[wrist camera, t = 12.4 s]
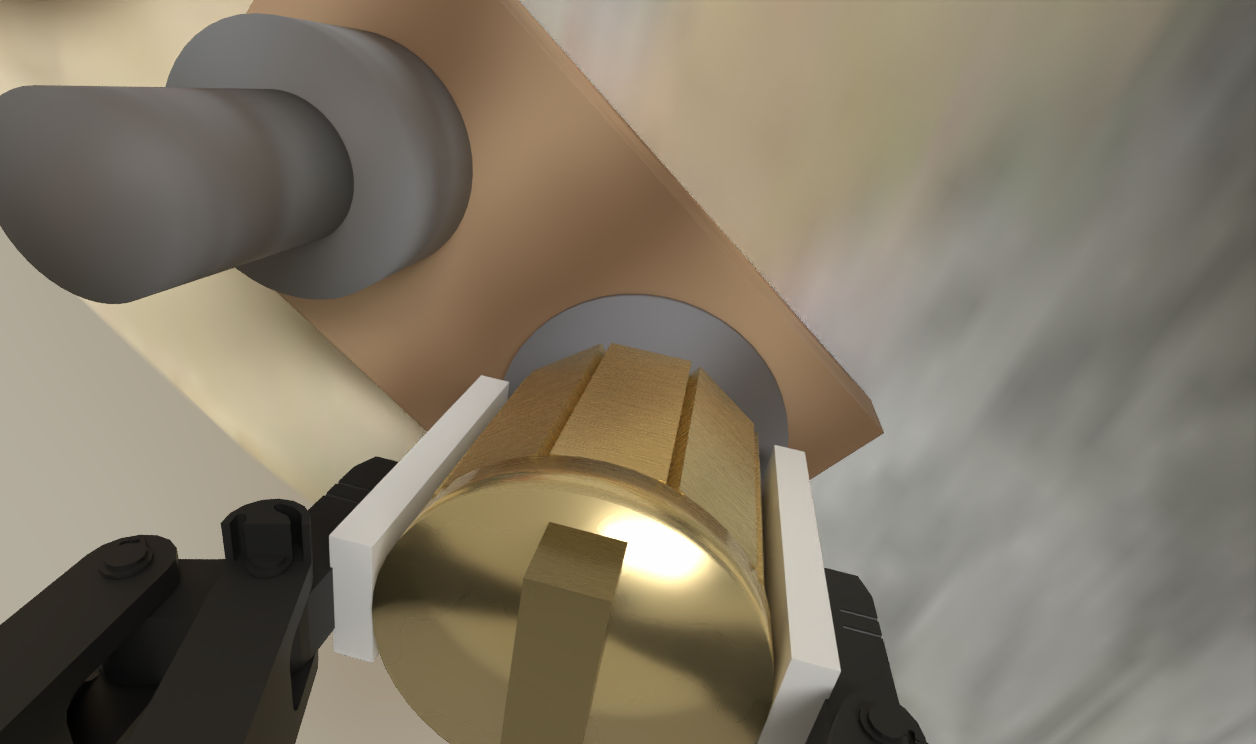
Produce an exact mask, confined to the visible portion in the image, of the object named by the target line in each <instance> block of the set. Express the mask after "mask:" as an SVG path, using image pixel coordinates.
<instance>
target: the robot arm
mask: <svg viewBox="0 0 1256 744" xmlns="http://www.w3.org/2000/svg"><path fill="white" fill-rule="evenodd" d="M508 389H509V382H508V381H503V380H499V379H495V378H491V377H487V376H482V375H481V376H480V377H479V378H478V379H477V380H476V381H475V382H474V383H473V384H472V386H471V387H470V388H469V389H468V390H467V391H466V392H465V393H464V394H463V395H462V396H461V397H460V398H459V399H458V400H457V401H456V402H455V403H454V404H453V406H452V407H451V408H450V409H449V410H448V411H447V412H446V413H445V414H444V415H443V416H442V417H441V418H440V419H439V420H438V421H437V422H436V423H435V424H434V426H433V427H432V428H431V429H430V430H429V431H428V432H427V433H426V434H425V435H424V436H423V437H422V438H421V439H420V440H419V441H418V442H417V443H416V444H415V446H414V447H413V448H412V449H411V450H410V451H409V452H408V453H407V454H406V455H405V456H404V457H403V458H402V459H401V460H400V461H399V462H396V461H392V460H388V459H384V458H380V457H374V458H372V459H370V460H367V461H365V462H363V463H361V464H359V465H357V466H355V467H353V468H352V469H351V470H350V471H349V472H348V473H347V474H346V475H345V476H344V477H343V478H342V479H341V480H340V481H339V483H338V484H335V485H334V486H333V487H332V488H331V489H330V490H329V491H328V492H327V494H326V496H323V497H322V498H320V499H319V500H318V501H317V502H316V503H315V504H314V505H313V506H312V507H311V508H310V509H309V510H308V511H307V509H306V508H305V506H303V505H301V504H299V503H297V502H295V501H290V500H283V499H270V500H260V501H257V502H254V503H250V504H247V505H244V506H242V507H240V508H239V509H237V510H235V511H233V512H231V513H230V514H229V515H228V516H227V517H226V518H225V519H224V520H223V521H222V523H221V528H222V536H223V543H224V551H225V558H226V559H218V560H216V559H215V560H214V559H213V560H212V559H210V560H208V559H206V560H205V559H204V560H203V559H178V554H177V548H176V547H175V546H174V544H173V543H172V542H171V541H170V540H169V539H166V538H163V537H160V536H157V535H137V536H131V537H125V538H121V539H118V540H115V541H112V542H110V543H107V544H105V545H102V546H100V547H99V548H97V549H96V550H94V551H92V552H91V553H89V554H88V555H86V556H85V557H84V558H82V559H81V560H80V561H79V562H78V563H76V564H75V565H74V566H73V567H71V568H70V569H69V570H68V571H66V572H65V573H64V574H63V575H62V576H60V577H59V578H58V579H56V580H55V581H54V582H53V583H52V584H51V585H49V586H48V587H47V588H45V589H44V590H43V591H42V592H40V593H39V594H38V595H37V596H36V597H34V598H33V599H32V600H31V601H29V602H28V603H27V604H26V605H24V606H23V607H22V608H21V609H19V610H18V611H17V612H16V613H15V614H13V615H12V616H11V617H10V618H9V619H7V620H6V621H5V622H3V623H2V624H1V625H0V744H295V742H296V739H297V735H298V732H299V729H300V725H301V722H302V718H303V715H304V712H305V709H306V705H307V702H308V699H309V695H310V692H311V688H312V685H313V682H314V679H315V675H316V672H317V669H318V649H319V648H320V646H321V645H322V644H323V642H324V641H325V640H326V639H327V637H328V636H329V635H330V633H331V632H332V631H333V649H334V652H335V653H339V654H342V655H345V656H349V657H352V658H356V659H360V660H363V661H367V662H370V663H373V661H374V660H375V659H376V657H377V656H378V654H379V651H378V648H377V643H376V639H375V635H374V631H373V621H372V601H373V591H374V587H375V584H376V580H377V576H378V573H379V571H380V569H381V567H382V565H383V563H384V560H385V558H386V556H387V555H388V553H389V552H390V551H391V549H392V548H393V547H394V545H395V544H396V543H397V541H398V540H399V539H400V537H401V536H402V535H403V534H404V532H405V531H406V530H407V528H408V527H409V526H410V525H411V523H412V522H413V521H414V520H415V518H416V517H417V516H418V515H419V513H420V512H421V511H422V509H423V508H424V507H425V506H426V504H427V503H428V502H429V501H430V500H431V498H432V496H433V494H434V493H435V492H436V490H437V489H438V488H439V486H440V485H441V484H442V483H443V481H444V480H445V479H446V478H447V476H448V475H449V474H450V473H451V471H452V470H453V469H454V468H455V466H456V465H457V464H458V462H459V461H460V460H461V459H462V457H463V456H464V455H465V454H466V452H467V451H468V450H469V449H470V447H471V446H472V445H473V444H474V442H475V441H476V440H477V439H478V437H479V436H480V435H481V433H482V432H483V431H484V430H485V428H486V427H487V426H488V425H489V423H490V422H491V421H492V420H493V418H494V417H495V416H496V415H497V413H498V412H499V411H500V409H501V408H502V407H503V406H504V404H505V403H506V402H507V399H508ZM761 489H762V509H763V535H764V561H765V587H766V597H767V601H768V604H769V608H770V614H771V626H772V643H773V664H774V690H773V699H772V704H771V708H770V711H769V714H768V718H767V721H766V723H765V725H764V727H763V729H762V730H761V732H760V734H759V736H758V738H757V739H756V741H755V742H754V743H753V744H928V743H927V742H926V740H925V736H924V735H923V733H922V731H921V729H920V727H919V725H918V723H917V722H916V720H915V719H914V718H913V717H912V716H911V715H910V714H909V713H908V711H907V710H906V709H905V708H903V707H902V706H901V705H900V704H899V701H898V697H897V693H896V689H895V685H894V681H893V677H892V673H891V669H890V665H889V661H888V657H887V653H886V649H885V645H884V641H883V639H881V636H882V633H881V630H880V626H879V622H877V614H876V610H875V606H874V602H873V598H872V596H871V594H870V593H869V592H868V590H867V589H866V587H865V586H864V585H863V583H862V582H861V580H860V579H859V577H858V576H855V575H851V574H847V573H843V572H839V571H835V570H831V569H827V568H824V566H823V559H822V553H821V547H820V541H819V535H818V529H817V523H816V517H815V511H814V505H813V499H812V493H811V487H810V481H809V475H808V469H807V462H806V456H805V452H803V451H799V450H794V449H790V448H786V447H782V446H778V445H774V448H773V451H772V454H771V457H770V460H769V463H768V466H767V470H766V473H765V476H764V479H763V482H762V485H761Z"/></svg>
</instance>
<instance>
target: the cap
mask: <svg viewBox="0 0 1256 744" xmlns="http://www.w3.org/2000/svg"><path fill="white" fill-rule="evenodd" d="M691 362H692V361H689V360H684V359H680V358H676V357H672V356H667V355H663V354H659V353H654V352H650V351H646V350H642V349H637V348H633V347H629V346H624V345H620V344H616V343H611V344H610V346H609V348H608V349H607V351H605V349H604V347H603V345H602V343H601V344H598V345H596V346H593V347H591V348H588V349H586V350H583V351H581V352H578V353H576V354H573V355H571V356H568V357H566V358H564V359H561V360H559V361H556V362H554V363H551V364H549V365H546V366H544V367H541V368H539V369H536V370H534V371H532V373H531V374H530V375H529V376H528V377H526V378H525V379H524V380H523V382H522V383H521V384H520V385H519V387H518V388H517V389H516V391H515V392H514V393H513V394H512V396H511V397H510V398H509V399H508V401H507V402H506V403H505V404H504V406H503V407H502V408H501V409H500V411H499V412H498V413H497V415H496V416H495V417H494V418H493V420H492V421H491V422H490V423H489V425H488V426H487V427H486V428H485V430H484V431H483V432H482V433H481V435H480V436H479V437H478V439H477V440H476V441H475V442H474V444H473V445H472V446H471V447H470V449H469V450H468V451H467V452H466V454H465V455H464V456H463V457H462V459H461V460H460V461H459V462H458V464H457V465H456V466H455V468H454V469H453V470H452V471H451V473H450V474H449V475H448V476H447V478H446V479H445V480H444V481H443V483H442V484H441V485H440V486H439V488H438V489H437V490H436V492H435V493H434V494H433V496H432V498H431V500H430V501H429V502H428V503H427V504H426V506H425V507H424V508H423V509H422V511H421V512H420V513H419V515H418V516H417V517H416V518H415V520H414V521H413V522H412V523H411V525H410V526H409V527H408V528H407V530H406V531H405V532H404V534H403V535H402V536H401V537H400V539H399V540H398V541H397V543H396V544H395V545H394V547H393V548H392V549H391V551H390V552H389V553H388V555H387V556H386V558H385V560H384V563H383V565H382V567H381V569H380V571H379V573H378V576H377V580H376V584H375V587H374V591H373V601H372V621H373V631H374V635H375V639H376V643H377V648H378V651H379V653H380V656H381V658H382V660H383V663H384V666H385V668H386V670H387V672H388V674H389V675H390V677H391V679H392V681H393V683H394V684H395V686H396V688H397V689H398V690H399V692H400V693H401V694H402V696H403V697H404V699H405V700H406V702H407V703H408V704H409V705H410V706H411V707H412V709H413V710H414V711H415V712H416V713H417V714H418V716H419V717H420V718H421V719H422V720H423V721H424V722H425V723H426V724H427V725H428V726H430V727H431V728H432V729H433V730H434V731H435V732H436V733H437V734H438V735H439V736H441V737H442V738H443V739H445V740H446V741H447V742H449V743H450V744H753V743H754V742H755V741H756V739H757V738H758V736H759V734H760V732H761V730H762V729H763V727H764V725H765V723H766V721H767V718H768V714H769V711H770V708H771V704H772V699H773V690H774V664H773V643H772V626H771V614H770V608H769V604H768V601H767V597H766V587H765V561H764V535H763V509H762V489H761V473H760V458H759V442H758V432H754V423H753V422H752V421H751V420H750V419H749V418H748V417H747V416H746V414H745V413H744V412H743V411H742V410H741V409H740V408H739V407H738V406H737V405H736V404H735V403H734V402H733V401H732V399H731V398H730V397H729V396H728V395H727V394H726V393H725V392H724V391H723V390H722V389H721V388H720V387H719V386H718V384H717V383H716V382H715V381H714V380H713V379H712V378H711V377H710V376H709V375H708V374H707V373H706V372H705V370H704V369H703V368H702V367H701V366H700V367H699V368H698V369H696V370H695V371H694V372H692V373H691V374H690V375H689V372H690V367H691Z"/></svg>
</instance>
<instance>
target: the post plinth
mask: <svg viewBox="0 0 1256 744" xmlns="http://www.w3.org/2000/svg"><path fill="white" fill-rule="evenodd" d="M0 226H1V227H2V229H3V230H4V232H5V234H6V235H7V236H8V238H9V239H10V241H11V242H12V243H13V244H14V246H15V247H16V248H17V250H18V251H19V252H20V253H21V254H22V255H23V256H24V257H25V258H26V259H27V261H28V262H29V263H31V264H32V265H33V266H34V267H35V268H36V269H37V270H38V271H39V272H41V273H42V274H43V275H44V276H46V277H47V278H48V279H49V280H51V281H52V282H54V283H55V284H57V285H58V286H60V287H61V288H63V289H65V290H67V291H69V292H71V293H73V294H75V295H77V296H80V297H82V298H85V299H88V300H91V301H95V302H100V303H106V304H122V303H128V302H132V301H135V300H138V299H141V298H144V297H147V296H150V295H153V294H156V293H159V292H162V291H165V290H168V289H171V288H174V287H177V286H180V285H183V284H186V283H189V282H192V281H195V280H198V279H201V278H204V277H207V276H210V275H213V274H216V273H219V272H222V271H225V270H228V269H231V268H234V267H235V268H237V269H238V270H239V271H241V272H242V273H244V274H245V275H247V276H248V277H250V278H251V279H253V280H254V281H256V282H258V283H260V284H262V285H264V286H266V287H268V288H270V289H273V290H275V291H276V292H277V293H279V294H280V295H281V296H282V297H283V298H284V299H285V300H286V301H287V302H288V303H289V304H290V305H291V306H293V307H294V308H295V309H296V310H297V311H298V312H299V313H300V314H301V315H302V316H303V317H304V318H305V319H307V320H308V321H309V322H310V323H311V324H312V325H313V326H314V327H315V328H316V329H317V330H318V331H319V332H321V333H322V334H323V335H324V336H325V337H326V338H327V339H328V340H329V341H330V342H331V343H332V344H334V345H335V346H336V347H337V348H338V349H339V350H340V351H341V352H342V353H343V354H344V355H345V356H346V357H348V358H349V359H350V360H351V361H352V362H353V363H354V364H355V365H356V366H357V367H358V368H359V369H360V370H362V371H363V372H364V373H365V374H366V375H367V376H368V377H369V378H370V379H371V380H372V381H373V382H374V383H376V384H377V385H378V386H379V387H380V388H381V389H382V390H383V391H384V392H385V393H386V394H387V395H389V396H390V397H391V398H392V399H393V400H394V401H395V402H396V403H397V404H398V405H399V406H400V407H401V408H403V409H404V410H405V411H406V412H407V413H408V414H409V415H410V416H411V417H412V418H413V419H414V420H415V421H417V422H418V423H419V424H420V425H421V426H422V427H423V428H424V429H425V430H426V431H427V432H428V431H429V430H430V429H431V428H432V427H433V426H434V424H435V423H436V422H437V421H438V420H439V419H440V418H441V417H442V416H443V415H444V414H445V413H446V412H447V411H448V410H449V409H450V408H451V407H452V406H453V404H454V403H455V402H456V401H457V400H458V399H459V398H460V397H461V396H462V395H463V394H464V393H465V392H466V391H467V390H468V389H469V388H470V387H471V386H472V384H473V383H474V382H475V381H476V380H477V379H478V378H479V377H480V376H481V375H482V376H487V377H491V378H495V379H499V380H503V381H508V382H509V389H508V399H509V398H510V397H511V396H512V394H513V393H514V392H515V391H516V389H517V388H518V387H519V385H520V384H521V383H522V382H523V380H524V379H525V378H526V377H528V376H529V375H530V374H531V373H532V371H534V370H536V369H539V368H541V367H544V366H546V365H549V364H551V363H554V362H556V361H559V360H561V359H564V358H566V357H568V356H571V355H573V354H576V353H578V352H581V351H583V350H586V349H588V348H591V347H593V346H596V345H598V344H601V343H602V345H603V347H604V349H605V351H607V349H608V348H609V346H610V344H611V343H616V344H620V345H624V346H629V347H633V348H637V349H642V350H646V351H650V352H654V353H659V354H663V355H667V356H672V357H676V358H680V359H684V360H689V361H692V362H691V367H690V372H689V375H690V374H691V373H692V372H694V371H695V370H696V369H698V368H699V367H700V366H701V367H702V368H703V369H704V370H705V372H706V373H707V374H708V375H709V376H710V377H711V378H712V379H713V380H714V381H715V382H716V383H717V384H718V386H719V387H720V388H721V389H722V390H723V391H724V392H725V393H726V394H727V395H728V396H729V397H730V398H731V399H732V401H733V402H734V403H735V404H736V405H737V406H738V407H739V408H740V409H741V410H742V411H743V412H744V413H745V414H746V416H747V417H748V418H749V419H750V420H751V421H752V422H753V423H754V432H758V442H759V458H760V473H761V485H762V482H763V479H764V476H765V473H766V470H767V466H768V463H769V460H770V457H771V454H772V451H773V448H774V445H778V446H782V447H786V448H790V449H794V450H799V451H803V452H805V456H806V462H807V469H808V475H809V480H810V479H812V478H813V477H815V476H817V475H818V474H820V473H821V472H823V471H825V470H826V469H828V468H829V467H831V466H832V465H834V464H836V463H837V462H839V461H840V460H842V459H844V458H845V457H847V456H848V455H850V454H851V453H853V452H855V451H856V450H858V449H859V448H861V447H863V446H864V445H866V444H867V443H869V442H870V441H872V440H874V439H875V438H877V437H878V436H880V435H882V434H883V433H884V432H883V429H882V427H881V424H880V422H879V419H878V417H877V414H876V412H875V409H874V407H873V405H872V402H871V400H870V398H869V397H868V396H867V395H866V394H865V393H864V391H863V390H862V389H861V388H860V387H859V386H858V385H857V383H856V382H855V381H854V380H853V379H852V378H851V377H850V376H849V374H848V373H847V372H846V371H845V370H844V369H843V368H842V366H841V365H840V364H839V363H838V362H837V361H836V360H835V359H834V357H833V356H832V355H831V354H830V353H829V352H828V351H827V349H826V348H825V347H824V346H823V345H822V344H821V343H820V342H819V340H818V339H817V338H816V337H815V336H814V335H813V334H812V332H811V331H810V330H809V329H808V328H807V327H806V326H805V325H804V323H803V322H802V321H801V320H800V319H799V318H798V317H797V315H796V314H795V313H794V312H793V311H792V310H791V309H790V308H789V306H788V305H787V304H786V303H785V302H784V301H783V300H782V298H781V297H780V296H779V295H778V294H777V293H776V292H775V291H774V289H773V288H772V287H771V286H770V285H769V284H768V283H767V281H766V280H765V279H764V278H763V277H762V276H761V275H760V274H759V272H758V271H757V270H756V269H755V268H754V267H753V266H752V264H751V263H750V262H749V261H748V260H747V259H746V258H745V257H744V255H743V254H742V253H741V252H740V251H739V250H738V249H737V247H736V246H735V245H734V244H733V243H732V242H731V241H730V239H729V238H728V237H727V236H726V235H725V234H724V233H723V232H722V230H721V229H720V228H719V227H718V226H717V225H716V224H715V222H714V221H713V220H712V219H711V218H710V217H709V216H708V215H707V213H706V212H705V211H704V210H703V209H702V208H701V207H700V205H699V204H698V203H697V202H696V201H695V200H694V199H693V198H692V196H691V195H690V194H689V193H688V192H687V191H686V190H685V188H684V187H683V186H682V185H681V184H680V183H679V182H678V181H677V179H676V178H675V177H674V176H673V175H672V174H671V173H670V171H669V170H668V169H667V168H666V167H665V166H664V165H663V164H662V162H661V161H660V160H659V159H658V158H657V157H656V156H655V154H654V153H653V152H652V151H651V150H650V149H649V148H648V147H647V145H646V144H645V143H644V142H643V141H642V140H641V139H640V137H639V136H638V135H637V134H636V133H635V132H634V131H633V130H632V128H631V127H630V126H629V125H628V124H627V123H626V122H625V120H624V119H623V118H622V117H621V116H620V115H619V114H618V113H617V111H616V110H615V109H614V108H613V107H612V106H611V105H610V103H609V102H608V101H607V100H606V99H605V98H604V97H603V96H602V94H601V93H600V92H599V91H598V90H597V89H596V88H595V86H594V85H593V84H592V83H591V82H590V81H589V80H588V79H587V77H586V76H585V75H584V74H583V73H582V72H581V71H580V69H579V68H578V67H577V66H576V65H575V64H574V63H573V62H572V60H571V59H570V58H569V57H568V56H567V55H566V54H565V52H564V51H563V50H562V49H561V48H560V47H559V46H558V45H557V43H556V42H555V41H554V40H553V39H552V38H551V37H550V35H549V34H548V33H547V32H546V31H545V30H544V29H543V28H542V26H541V25H540V24H539V23H538V22H537V21H536V20H535V18H534V17H533V16H532V15H531V14H530V13H529V12H528V10H527V9H526V8H525V7H524V6H523V5H522V4H521V3H520V1H519V0H254V1H253V2H252V4H251V6H250V8H249V9H248V11H247V13H246V14H240V15H235V16H232V17H228V18H224V19H221V20H219V21H217V22H215V23H213V24H211V25H209V26H207V27H206V28H205V29H203V30H202V31H201V32H199V33H198V34H197V35H195V36H194V37H193V38H192V39H191V41H190V42H189V43H188V44H187V45H186V46H185V47H184V48H183V50H182V51H181V53H180V55H179V56H178V58H177V59H176V61H175V63H174V65H173V67H172V70H171V72H170V74H169V77H168V80H167V84H166V87H110V86H46V85H33V86H22V87H18V88H15V89H12V90H10V91H8V92H6V93H4V94H2V95H1V96H0ZM508 399H507V401H508Z"/></svg>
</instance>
